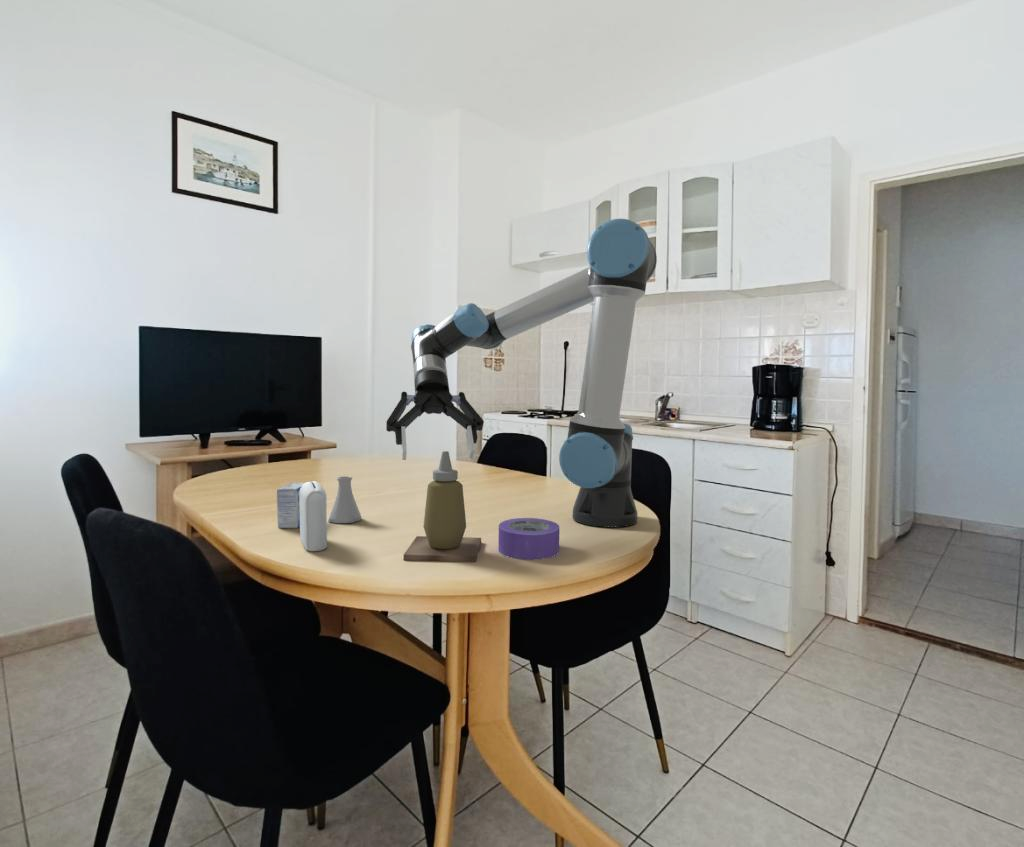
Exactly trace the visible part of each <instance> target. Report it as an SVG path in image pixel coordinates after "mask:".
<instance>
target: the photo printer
mask: <svg viewBox="0 0 1024 847" xmlns="http://www.w3.org/2000/svg"><path fill="white" fill-rule="evenodd" d="M303 483H304V484H303V485H302V487H301V489H300V493H299V495H300V527H299V537H300V542H301V544H302V546H303V547H304V550H306V551H309V552H318V551H319V552H320V551H324V550H325V549H326V548H327V547H328V533H327V532H328V531H327V530H328V528H327V527H328V526H327V525H328V524H327V522H328V518H327V513H328V512H327V492H326V491H325V488H324V487H323V485H322V484H320V483H319V482H318V481H316V480H313V481H307V482H303Z"/></svg>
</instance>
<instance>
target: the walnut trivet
mask: <svg viewBox="0 0 1024 847" xmlns="http://www.w3.org/2000/svg"><path fill="white" fill-rule="evenodd" d="M481 545H482V537H470V536H469V537H467V536H463V538H462V541H461V544H460V546H458V547H456V548H451V549H437V548H432V547H430V545H429V542H428V539H427V536H426V535H425V536H420V535H417V536H416V537H415V538H414V540H413V541H412V542H411V543H410V545H409V546H408V548H407V549H406V551H405V552H404V553H403V561H421V562H422V561H424V562H427V561H428V562H429V561H430V562H464V563H465V562H466V563H467V562H468V563H469V562H470V563H476V562H477V558H478V554H479V552H480V549H481Z"/></svg>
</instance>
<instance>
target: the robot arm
mask: <svg viewBox="0 0 1024 847" xmlns="http://www.w3.org/2000/svg"><path fill="white" fill-rule="evenodd" d="M586 255H587V256H586V257H587V262H588V264H589V266H588V267H586V268H585V269H584V268H583V269H582V270H580V271H577V272H576V273H573V274H572V275H570V276H567V277H565V278H563V279H561V280H558V281H557V282H554V283H552V284H550V285H548V286H545V287H543V288H541V289H539V290H537V291H534V292H533V293H531V294H529V295H527V296H524V297H522V298H520V299H518V300H515V301H513V302H512V303H509V304H507V305H505V306H503V307H500V308H499V309H497V310H495V311H493V312H490V313H488V314H485V313H484V311H483V310H482V309H481V308H480V307H479V306H477V304H475V303H473V302H472V303H471V302H470V303H467V304H465V305H464V306H462V307H460V308H459V307H458V308H457V310H455V311H454V312H453V313H451V315H449V316H447V317H446V318H444V319H443V320H442V321H441V322H439V323H438V324H436V325H434V324H428V323H427V324H425V325H420V326H418V327H416V328H415V329H414V330H413V332H412V334H411V345H410V348H411V349H410V350H411V354H412V362H413V364H412V366H413V378H414V379H413V380H414V394H413V395H412V394H408V392H406V391H402V392H401V395H400V400H399V401H398V403H397V405H396V406H395V407H394V409H393V410H392V412H391V414H389V417H388V418H387V420H386V421H385V422H386V425H385V426H386V431H387V432H389V433H390V432H393V433H394V434H395V444H396V445H398V446H399V445H401V460H402V461H406V460H407V451H408V450H407V436H406V435H407V433H406V432H407V431H406V429H407V428H408V427H409V426H410V425H411V424H412V423H413V422H414V421H415V420H416V419H417V418H418V417H421V416H422V415H423V414H424V413H426V414H427V415H431V414H437V415H441V414H444V415H445V416H446V417H450V418H451V419H452V420H454V421H455V422H456V423H457V424H459V426H461V427H462V428H464V429H465V430H466V432H465V435H466V436H465V437H466V443H467V451H468V458H469V459H474V455H475V451H476V449H475V444H477V441H478V438H479V437H478V431H482V430H483V428H484V423H485V421H484V419H483V418H482V417H481V416H480V415H479V413H478V412H477V410H476V409H475V408H474V407H473V406H472V405H471V404H470V402H469V401H468V400H467V398H466V395H465V393H464V392H463V391H460V392H458V394H455V395H452V393H451V392H450V385H449V379H448V376H449V375H448V370H447V362H446V359H447V358H448V357H449V356H451V355H453V354H454V353H456V352H458V351H459V350H461V349H462V348H464V347H465V346H466V347H473V348H480V349H483V350H493V349H496V348H498V347H500V346H501V345H502V344H503V342H505V341H506V340H509V339H511V338H513V337H515V336H518V335H519V334H523V333H524V332H528V331H530V330H532V329H533V328H536V327H539V326H541V325H543V324H545V323H547V322H550V321H552V320H554V319H556V318H559V317H561V316H563V315H566V314H569V313H571V312H573V311H575V310H576V309H580V308H581V307H584V306H587V305H588V304H591V303H592V307H591V308H592V310H591V316H590V322H589V324H590V325H589V331H588V338H587V339H588V340H587V345H586V346H587V347H586V353H585V354H586V355H585V359H584V361H585V362H584V367H583V368H584V369H583V374H582V375H583V376H582V382H581V388H580V389H581V390H580V397H579V404H578V411H577V412H576V414H574V415H573V416H571V418H570V419H569V424H568V430H567V432H568V433H567V437H566V438H567V439H566V440H564V442H563V444H562V446H561V448H560V450H559V454H558V455H559V456H558V462H559V463H558V464H559V466H560V469H561V472H562V473H563V475H564V476H565V477H566V479H567V480H568V481H569V482H571V483H572V484H573V485H575V486H577V487H579V490H578V493H577V495H576V498H575V501H574V504H573V506H572V507H573V508H572V517H573V518H572V519H574V520H573V521H575V522H576V521H577V523H579V522H580V523H579V524H582V523H583V525H585V524H587V525H586V526H590V525H593V526H592V527H597V526H604V527H603V528H616V527H615V526H626V525H631V524H634V523H636V522H637V523H638V510H637V506H636V503H635V500H634V496H633V492H632V488H631V485H632V460H633V459H632V458H633V454H632V453H633V440H634V436H633V428H632V426H631V425H630V424H628V423H623V421H622V419H621V418H620V414H621V409H622V408H621V407H622V401H623V394H624V389H625V388H624V387H625V379H626V373H627V372H626V371H627V367H628V366H627V365H628V360H629V352H630V344H631V338H632V331H633V323H634V318H635V312H636V305H637V302H638V301H639V300H640V299H641V298H642V297H644V296H645V294H646V289H647V284H648V283H647V282H648V281H649V280H650V279H651V278H652V276H653V275H654V272H655V270H656V268H657V267H656V266H657V261H658V260H657V257H658V256H657V252H656V249H655V246H654V245H653V243H652V241H651V240H650V238H649V236H648V234H647V232H646V230H645V229H644V228H643V227H642V226H641V225H639V224H637V223H636V222H635V221H633V220H631V219H627V218H613V219H610V220H608V221H605V222H603V223H602V224H601V225H600V226H598V227H596V229H595V230H594V231H593V233H592V234H591V236H590V237H589V240H588V242H587V247H586ZM412 402H413V403H414V406H413V407H412V408H411V409H409V410H408V411H407V412H406V413H405V414H404V415H403V413H404V412H405V410H406V408H407V406H409V405H410V404H411V403H412ZM453 402H454V403H453ZM455 404H456V406H455ZM457 406H458V407H459V408H457ZM637 523H636V524H637ZM634 525H635V524H634ZM605 526H607V527H605ZM608 526H609V527H608ZM611 526H612V527H611ZM613 526H614V527H613ZM631 526H632V525H631ZM626 527H627V526H626Z"/></svg>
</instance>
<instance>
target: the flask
mask: <svg viewBox="0 0 1024 847" xmlns="http://www.w3.org/2000/svg"><path fill="white" fill-rule="evenodd" d="M336 479H337V481H338V487H337V488H338V490H337V494H336V496H335V501H334V504H333V506H332V509H331V512H330V515H329V518H328V519H327V522H328V523H329V522H330V523H334V524H352V523H356V522H359V521H360V520H361V519H362V515H361V512H360V510H359V507H358V505H357V502H356V500H355V497H354V493H353V490H352V486H351V485H352V480H353V476H348V475H347V476H345V475H344V476H343V475H342V476H338V477H336Z"/></svg>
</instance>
